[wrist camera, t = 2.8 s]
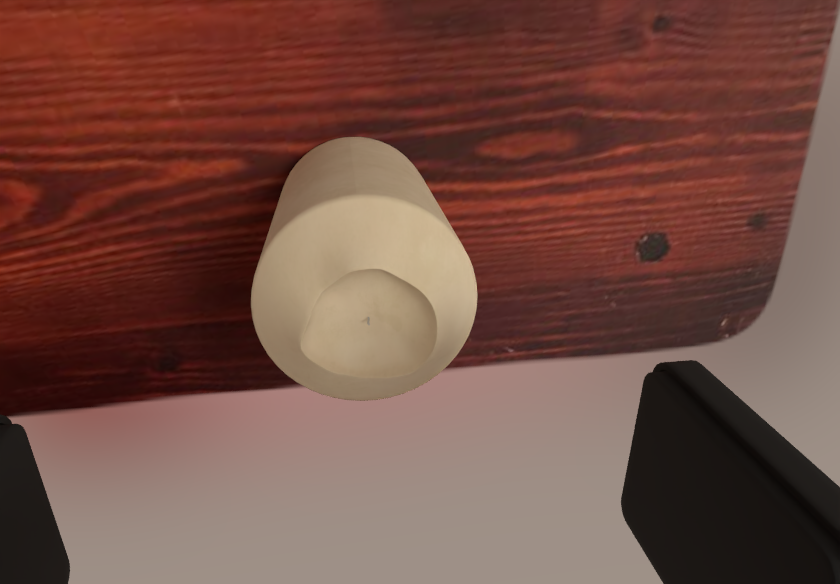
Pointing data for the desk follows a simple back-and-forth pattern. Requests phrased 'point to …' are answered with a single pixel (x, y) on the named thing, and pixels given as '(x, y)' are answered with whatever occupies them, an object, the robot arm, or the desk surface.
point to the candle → (361, 275)
